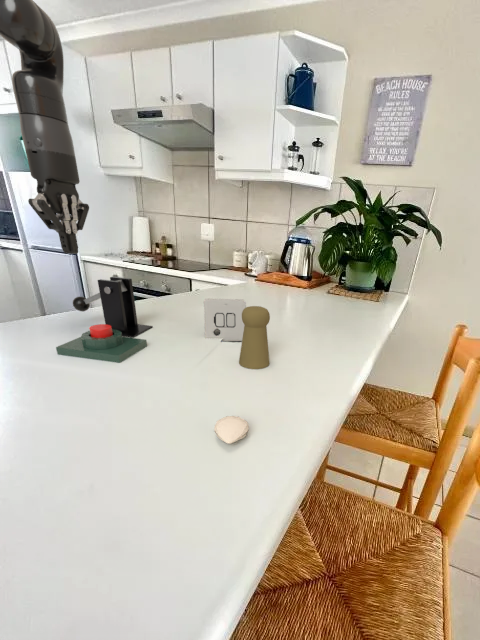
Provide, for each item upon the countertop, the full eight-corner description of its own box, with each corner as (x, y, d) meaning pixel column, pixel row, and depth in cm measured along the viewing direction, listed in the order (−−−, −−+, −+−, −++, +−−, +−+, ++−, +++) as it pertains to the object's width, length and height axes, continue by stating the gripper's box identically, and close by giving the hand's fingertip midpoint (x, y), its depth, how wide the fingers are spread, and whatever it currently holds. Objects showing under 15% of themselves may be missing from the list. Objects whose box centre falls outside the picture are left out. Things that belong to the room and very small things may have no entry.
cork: (248, 371, 60) (249, 312, 55) (233, 359, 64) (233, 304, 59) (275, 365, 63) (279, 309, 58) (259, 355, 67) (261, 302, 62)
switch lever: (75, 314, 71) (66, 301, 69) (85, 311, 73) (76, 298, 72) (121, 294, 67) (112, 279, 66) (129, 291, 70) (121, 277, 69)
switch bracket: (90, 335, 70) (79, 279, 64) (113, 325, 77) (105, 274, 71) (134, 341, 69) (126, 284, 63) (153, 330, 76) (147, 278, 70)
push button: (86, 337, 59) (84, 328, 58) (99, 332, 62) (97, 323, 61) (105, 340, 58) (103, 330, 57) (117, 334, 61) (115, 325, 61)
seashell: (249, 428, 43) (249, 413, 42) (246, 452, 39) (246, 435, 38) (217, 427, 43) (216, 411, 42) (210, 451, 39) (209, 433, 37)
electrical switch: (204, 342, 72) (203, 299, 68) (205, 336, 76) (203, 296, 73) (246, 342, 74) (247, 301, 70) (244, 337, 79) (245, 298, 75)
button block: (58, 358, 58) (53, 337, 56) (92, 342, 66) (88, 323, 64) (120, 367, 57) (117, 345, 55) (147, 350, 65) (145, 330, 63)
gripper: (59, 156, 65) (77, 249, 72) (-3, 140, 53) (26, 253, 60) (94, 159, 64) (108, 253, 72) (39, 144, 52) (63, 258, 60)
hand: (71, 253), depth 66 cm, fingers closed
